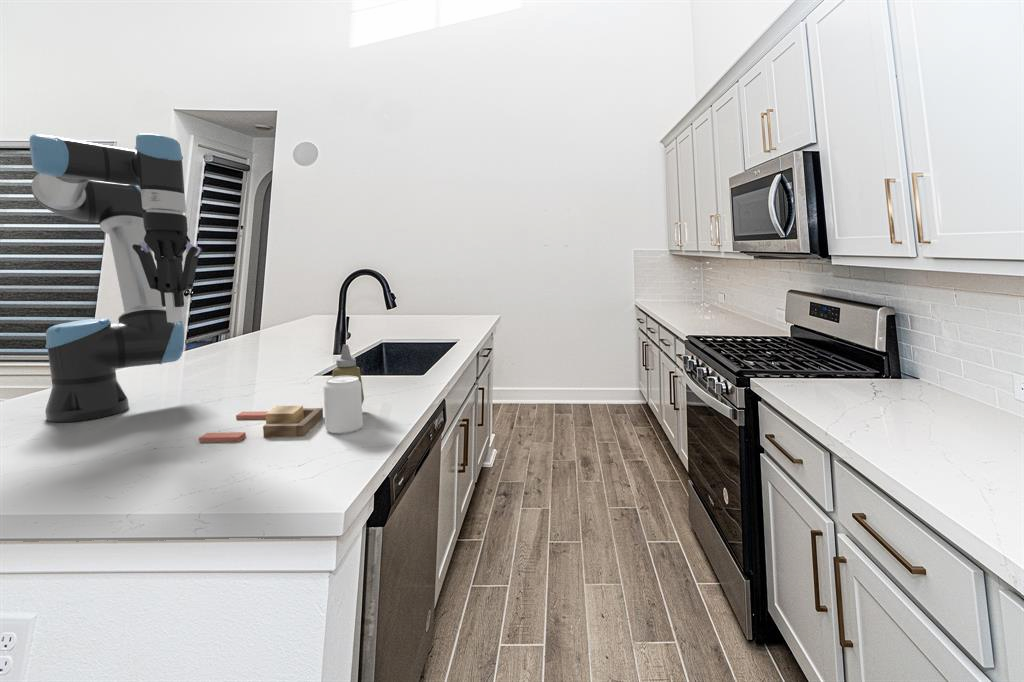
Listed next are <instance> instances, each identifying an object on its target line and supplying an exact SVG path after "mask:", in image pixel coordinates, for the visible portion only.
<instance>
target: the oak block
mask: <svg viewBox="0 0 1024 682" xmlns="http://www.w3.org/2000/svg"><path fill="white" fill-rule="evenodd" d="M303 408H304V405H277V406H274V408H272V409H270V410H269V412H267V413H266V414H265V415H266V419H265V424H299V423H300V422H301V421H302V420H303V419H304V414H303Z"/></svg>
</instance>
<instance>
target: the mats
mask: <svg viewBox="0 0 1024 682" xmlns="http://www.w3.org/2000/svg"><path fill="white" fill-rule="evenodd" d="M269 411H270V410H269ZM269 411H268V410H267V411H264V410H262V411H241V412H239V413H238V414H236V415H235V419H236V420H266V415H265V414H266V413H267V412H269ZM246 432H247V431H241V432H238V431H237V432H235V431H234V432H232V431H230V432H229V431H228V432H206V433H204V434H203V435H201V436H199V437H198V442H199V443H227V442H228V443H229V442H230V443H232V442H233V443H235V442H236V443H237V442H238V443H239V442H240V441H242V440H243V439H245V438H246V437H247V434H246Z"/></svg>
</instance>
